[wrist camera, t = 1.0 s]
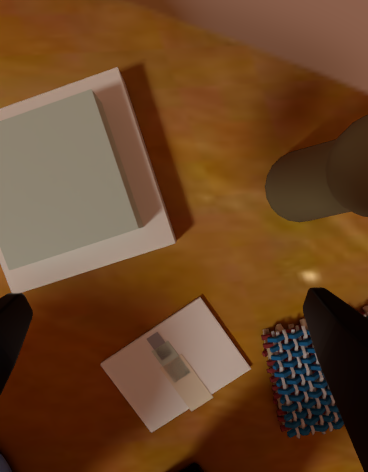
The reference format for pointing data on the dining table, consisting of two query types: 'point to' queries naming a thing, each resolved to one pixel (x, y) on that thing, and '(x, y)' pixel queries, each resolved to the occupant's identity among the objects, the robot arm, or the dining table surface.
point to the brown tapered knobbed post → (322, 178)
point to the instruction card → (175, 365)
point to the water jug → (4, 465)
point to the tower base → (137, 178)
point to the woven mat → (299, 381)
